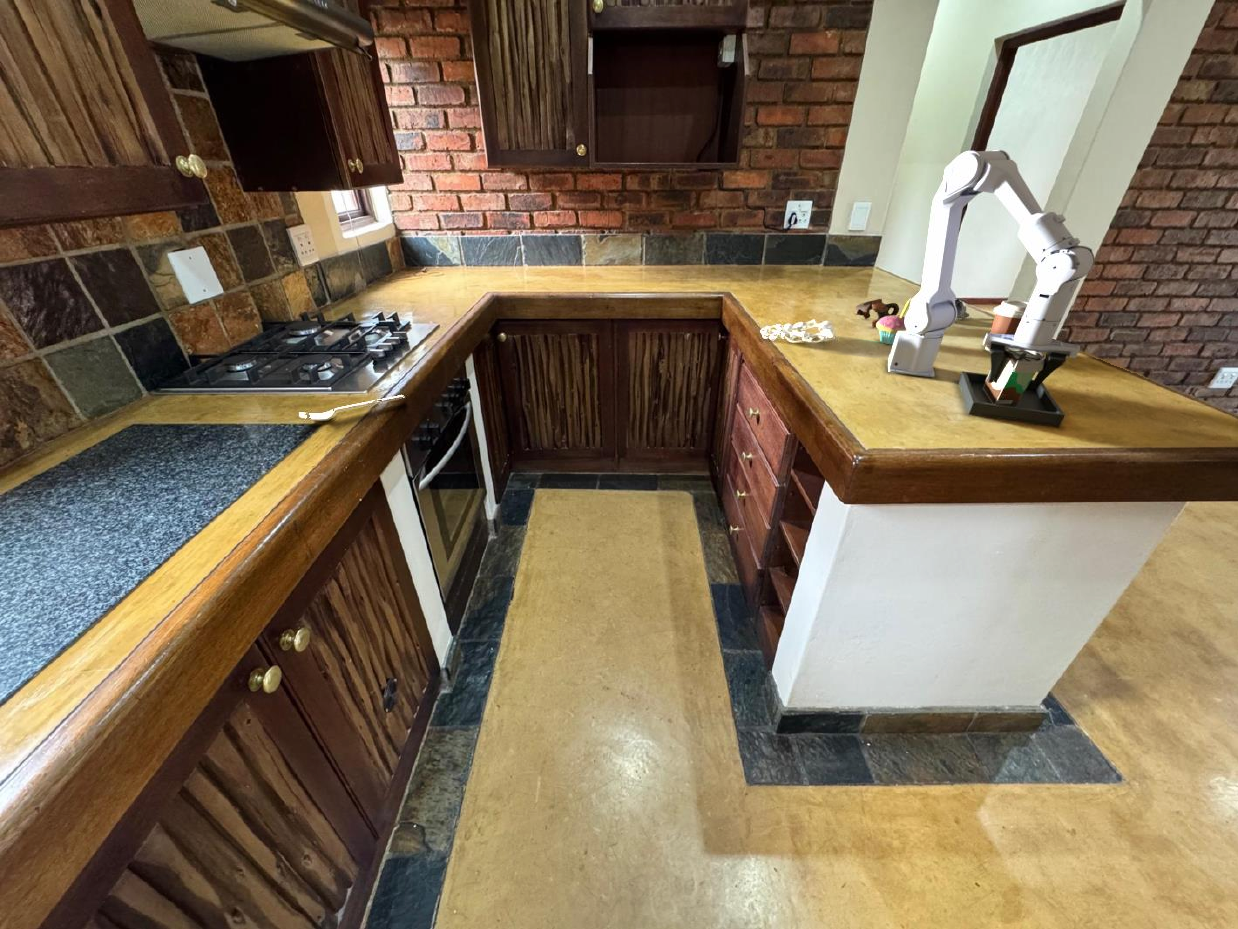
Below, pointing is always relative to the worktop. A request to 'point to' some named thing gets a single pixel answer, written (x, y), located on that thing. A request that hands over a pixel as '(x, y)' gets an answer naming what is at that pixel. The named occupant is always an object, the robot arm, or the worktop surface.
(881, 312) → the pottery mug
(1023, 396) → the tray
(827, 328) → the tangled rod sculpture
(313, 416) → the fork
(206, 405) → the worktop surface
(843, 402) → the worktop surface
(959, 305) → the snack package
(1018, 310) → the coffee cup
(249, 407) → the worktop surface
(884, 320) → the cupcake
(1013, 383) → the food container
